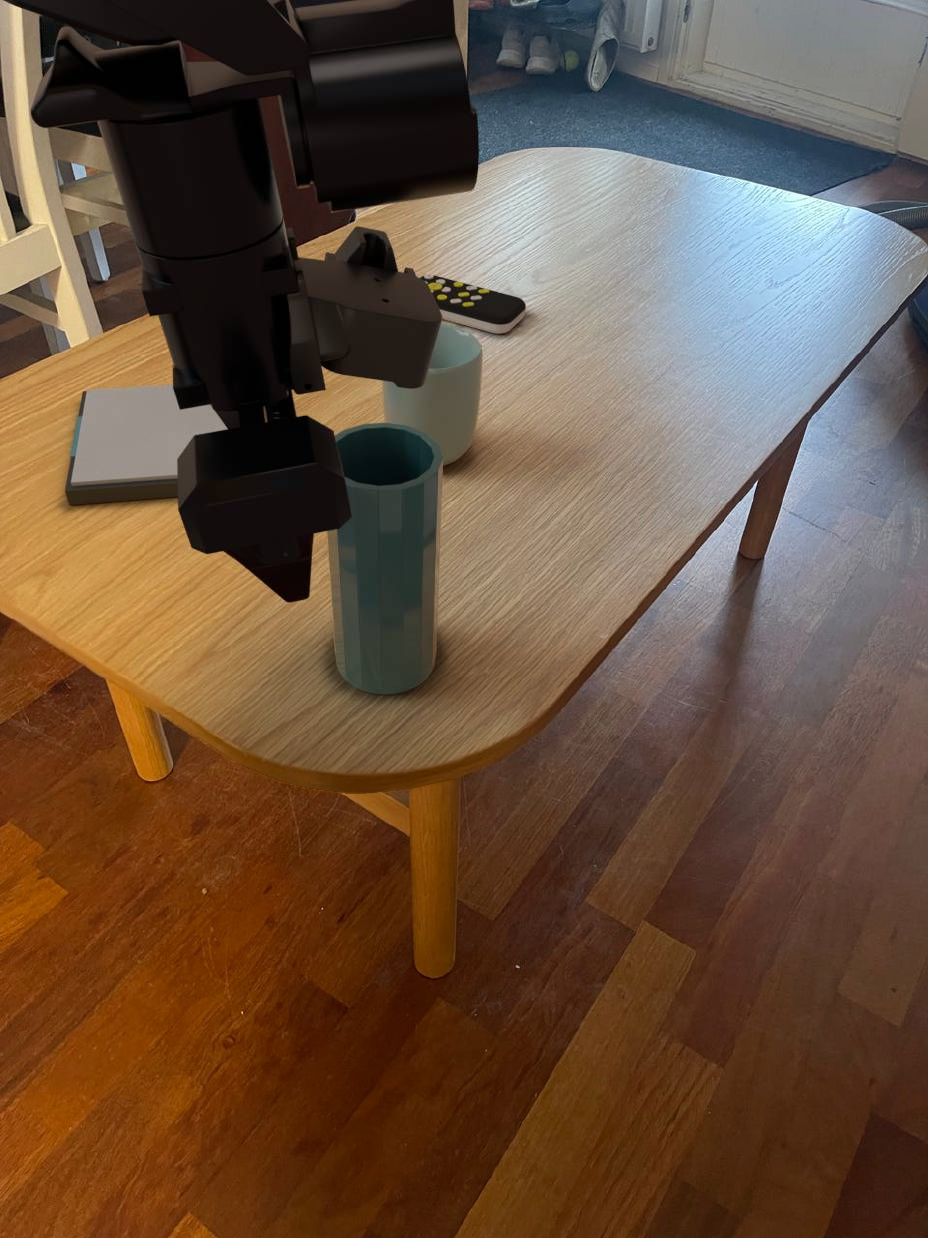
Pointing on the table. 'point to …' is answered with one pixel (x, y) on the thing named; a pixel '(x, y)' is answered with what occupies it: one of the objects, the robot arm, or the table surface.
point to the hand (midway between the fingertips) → (288, 538)
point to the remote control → (475, 305)
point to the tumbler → (387, 558)
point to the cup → (443, 394)
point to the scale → (131, 443)
